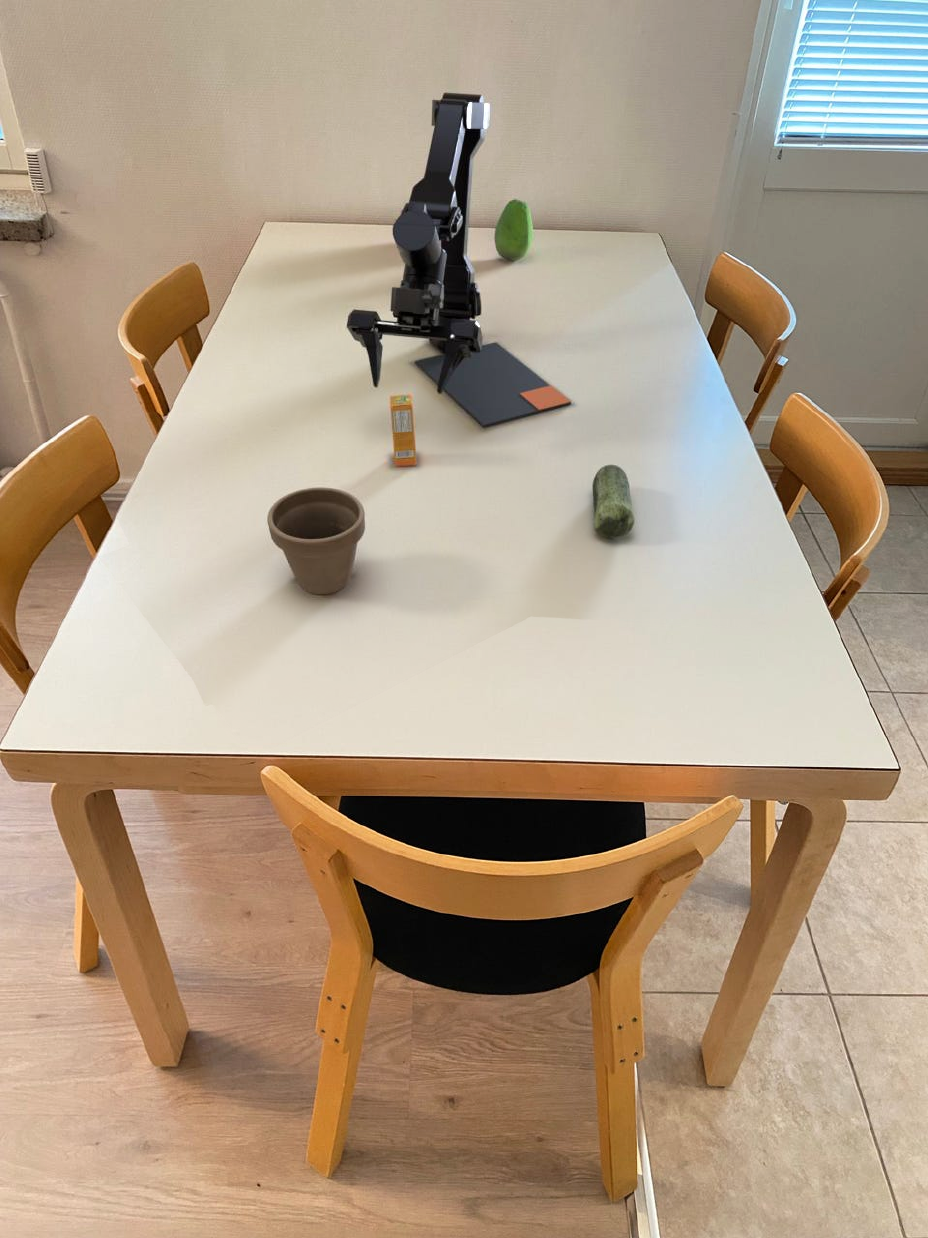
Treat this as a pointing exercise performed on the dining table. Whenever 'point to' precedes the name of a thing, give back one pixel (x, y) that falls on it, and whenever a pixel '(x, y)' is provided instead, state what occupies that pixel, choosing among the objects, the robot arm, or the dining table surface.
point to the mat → (495, 386)
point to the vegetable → (612, 502)
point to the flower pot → (318, 536)
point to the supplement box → (403, 430)
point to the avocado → (514, 231)
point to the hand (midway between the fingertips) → (407, 389)
